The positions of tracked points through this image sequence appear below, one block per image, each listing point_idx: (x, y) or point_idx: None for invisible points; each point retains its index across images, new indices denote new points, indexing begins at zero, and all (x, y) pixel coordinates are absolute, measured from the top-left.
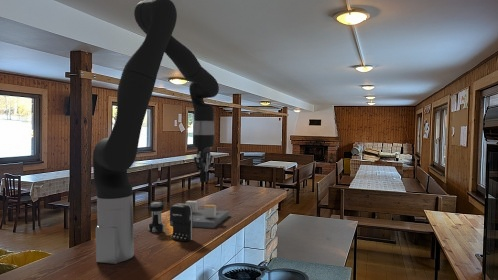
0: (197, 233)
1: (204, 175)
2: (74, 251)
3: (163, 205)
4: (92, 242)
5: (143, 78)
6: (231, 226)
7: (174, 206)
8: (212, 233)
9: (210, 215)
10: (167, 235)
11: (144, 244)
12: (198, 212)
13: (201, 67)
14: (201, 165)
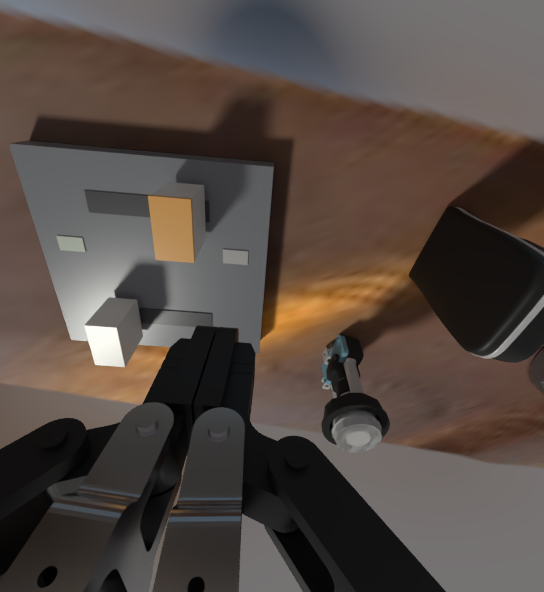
0: (358, 212)
1: (234, 382)
2: (496, 446)
3: (350, 407)
4: (433, 443)
5: None
6: (226, 66)
7: (539, 347)
8: (358, 143)
9: (202, 207)
10: (382, 308)
11: None
12: (113, 290)
13: None
14: (392, 544)
